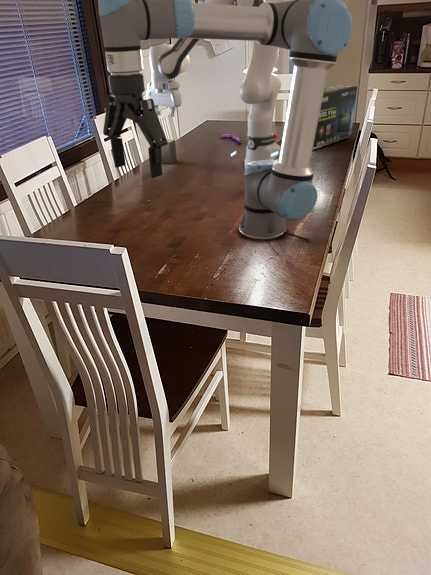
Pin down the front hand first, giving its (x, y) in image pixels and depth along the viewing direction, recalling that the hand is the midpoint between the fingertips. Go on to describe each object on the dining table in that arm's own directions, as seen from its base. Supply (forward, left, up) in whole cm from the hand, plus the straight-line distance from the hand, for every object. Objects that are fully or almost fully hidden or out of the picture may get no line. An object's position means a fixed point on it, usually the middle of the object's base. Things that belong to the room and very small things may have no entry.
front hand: (138, 171), depth 109 cm
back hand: (+63, -98, -9) cm, 117 cm away
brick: (+63, -98, -30) cm, 120 cm away
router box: (+5, -161, -30) cm, 164 cm away
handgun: (+55, -148, -30) cm, 161 cm away
